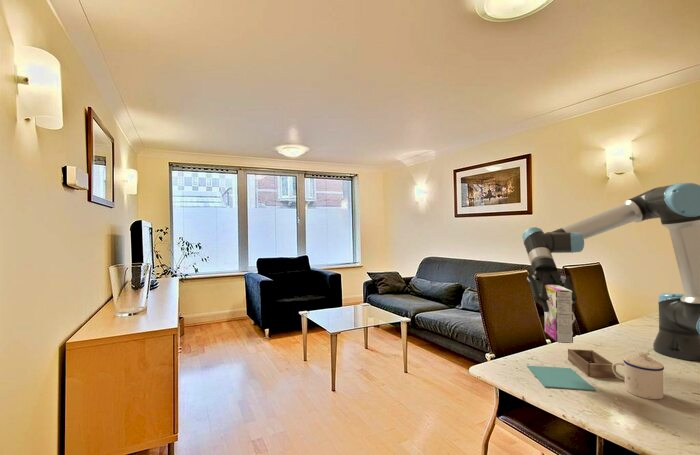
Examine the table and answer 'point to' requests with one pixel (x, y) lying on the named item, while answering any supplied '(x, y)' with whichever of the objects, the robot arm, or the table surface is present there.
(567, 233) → the robot arm
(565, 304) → the candy bar box
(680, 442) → the table surface
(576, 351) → the walnut sleeve
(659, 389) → the teacup with lid
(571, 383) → the rubber mat
